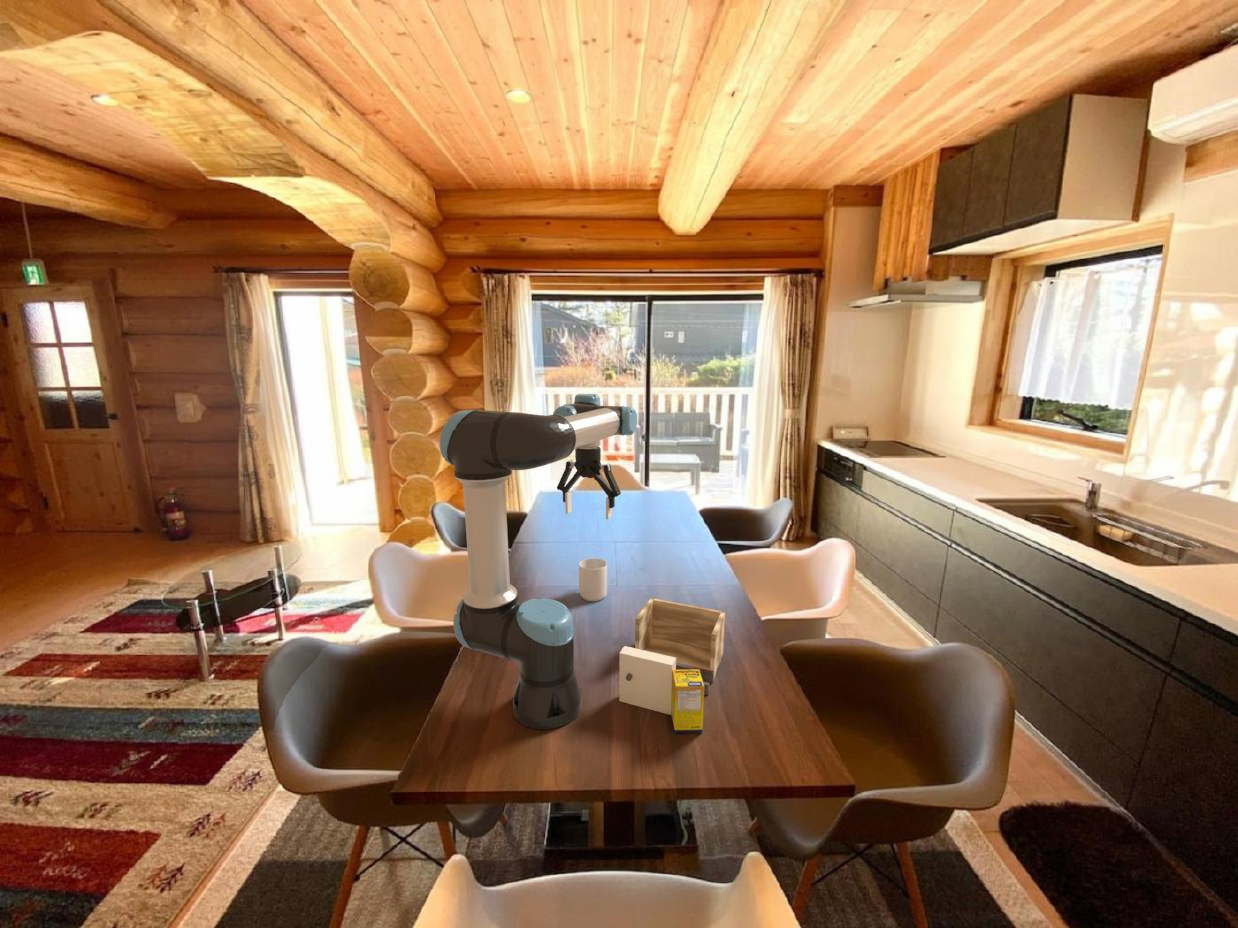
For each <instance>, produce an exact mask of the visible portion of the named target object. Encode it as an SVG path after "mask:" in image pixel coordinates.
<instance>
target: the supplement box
mask: <svg viewBox="0 0 1238 928" xmlns="http://www.w3.org/2000/svg"><path fill="white" fill-rule="evenodd" d="M703 682H704V681H703V680H702V677H701V673H700V670H699V669H689V670H672V701H671V715H670V716H671V721H672V725H673V726H672V727H673V730H674V731H673V732H674V734H683V733H684V734H685V733H686V734H689V733H703V731H704V730H703V729H704V728H703V727H704V704H705V703H704V701H705V694H704V684H703Z"/></svg>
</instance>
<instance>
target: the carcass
mask: <svg viewBox="0 0 1238 928" xmlns="http://www.w3.org/2000/svg"><path fill="white" fill-rule="evenodd" d="M726 612H727V611H723V610H719V609H714V608H713V609H712V608H708V607H702V606H699V605H698V606H696V605H692V604H687V603H681V602H676V601H671V600H664V599H661V598H655V597H650V598H649V600H648V601H647V602H646V604H645V605H644V607H643V608H642V609H641V610H640V612H639V613H638V614H637V616H636V617H635V626H634V627H635V630H634V631H635V635H634V636H635V637H634V638H635V639H634V640H635V642H634V648H636V649H640V650H645V651H649V652H653V653H658V654H662V655H667V656H671V657H675V658H676V670H689V669H699V670H700V673H701V677H702V680H703V684H704V696H709V694H710V685H711V684H713V683H714V681H715V679H716V677H717V672H718V670H719V668H720V665H721V662H722V659H723V656H724V654H725V653H724V652H725V651H724V649H725V648H724V647H725V633H726V631H725V630H726V615H727V614H726Z"/></svg>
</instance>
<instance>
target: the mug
mask: <svg viewBox="0 0 1238 928" xmlns="http://www.w3.org/2000/svg"><path fill="white" fill-rule="evenodd" d="M578 585H579V586H578V589H579V596H580V597H581V598H582V599H583V600H585V601H588V602H598V601H602V600H603V599H605V597H606V596H607V594H608V562H607V561H606V560H604V559H602V558H596V557H595V558H594V557H593V558H586V559H583V560H581V561H580V562H578Z"/></svg>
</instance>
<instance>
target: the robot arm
mask: <svg viewBox="0 0 1238 928" xmlns="http://www.w3.org/2000/svg"><path fill="white" fill-rule="evenodd" d="M637 425H638V413H637V411H636V409H635V408H634V407H632V406H625V405H622V406H621V405H620V406H618V405H615V406H614V405H601V397H600V395H599V394H596V393H578V394H576V395H575V396H574V402H573V403H569V404H567V403H566V404H563V405H561V406H559V407H556V409H555V410H554V412H553V413H552V414H550V415H549V414H548V415H546V414H545V415H544V414H543V415H542V414H536V413H535V414H534V413H527V412H526V413H525V412H524V413H523V412H519V411H518V412H514V411H511V412H510V411H498V410H497V411H496V410H484V409H464V410H460V411H457V412H455V413H453V414H452V415H451V416H450V417H449V418H448V419H447V421H446V423H445V424H444V425H443V428H442V429H441V432H440V437H439V451H440V455H441V457H442V458H444V460H445V462H446V463H448V464H449V465H451V466H453V471H454V472H453V473H454V479H456V480H457V481H458V482H459V483H461V484H462V490H463V502H464V503H463V504H464V505H463V506H464V507H463V508H464V517H465V518H464V519H465V520H464V521H465V534H466V535H465V536H466V551H467V561H468V562H467V564H468V577H469V579H468V581H469V588H468V590H467V591H466V592H465V593H464V595H463V598H462V599H461V601H460V602H459V603H458V604H457V607H456V608H455V610H456V613H455V614H454V615H453V623H452V624H453V632H454V635H455V637H456V640H457V641H458V643H460V644H461V645H462V646H463V647H464V648H468V649H470V650H472V651H475V652H477V653H485V654H489V655H491V656H496V657H499V658H503V659H506V660H507V659H508V660H511V661H514V662H518V665H519V667H518V668H519V678H518V681H517V685H516V687H515V691H514V694H513V698H512V712H513V715H514V717H515V718H516V720H517V722H519V723H520V724H521V725H523V726H525V727H528V728H531V729H535V730H551V729H556V728H560V727H562V726H565V725H567V724H569V723H570V722H572V721H574V720H575V719H576V718H577V717H578V715H579V714H580V712H581V711H582V707H583V693H582V689H581V687H580V684H579V681H578V678H577V676H576V674H575V667H574V664H575V661H574V655H575V653H574V636H575V635H574V634H575V629H574V622H573V616H572V613H571V612H570V609H569V608H568V607H567V606H566V605H565V604H563V603H562V602H561V601H558V600H555V599H551V598H545V597H544V598H543V597H541V598H540V599H538V598H537V597H536V598H531V599H529V600H525V601H524V602H522V603H520V602H518V601H519V600H518V598H519V597H518V590H517V588H516V587H515V586H514V585H512V584H511V580H510V579H511V578H510V560H509V558H510V557H509V539H508V537H509V536H508V519H507V515H508V514H507V502H506V501H507V499H506V497H507V496H506V482H507V480H508V479H509V478H510V477H511V476H512V474H513V471H526V470H531V469H535V468H536V469H537V468H540V467H543V466H547V465H551V464H553V463H556V462H558V461H562V460H564V459H566V458H568V457H569V456H571V454H572V453H573V452H574V457H575V461H574V460H573V459H570V460H567V461H566V462H565V469H564V471H563V473H562V475H561V477H560V479H559V482H558V484H557V486H556V489H557V490H558V491H561V492H562V502H563V503H565V514H567V515H568V514H570V513H572V511H573V507H572V505H573V503H572V502H573V501H572V500H573V499H572V493H573V492H572V491H571V488H572V487H573V486H574V485H575V484H576V483H577V481H578V480H579V479H580V478H588V479H594V481H596V482H597V483H598V485H599V486H600V488H601V489H602V490H603V492H604V493H605V494H606V495H607V497H606V498H605V520H610V519H611V518H612V517H613V509H614V507H615V506H616V505H615V503H616V500H615V498H617V497H619V496H620V495H621V494H622V492H621V490H620V488H619V486H618V483H617V481H616V479H615V476H614V474H613V472H612V466H611V464H610V463H607V464H602V463H601V456H602V455H601V452H602V451H601V447H600V446H601V441H602V440H604V439H609V438H611V437H614V436H618V435H619V436H622V437H623V436H632V435H634V433H635V432H636V430H637V427H638V426H637ZM573 468H575V470H576V472H575V473H574V474H573V476H572V477H571V478H570V480H569V481H568V479H569V477H570V476H571V473H572V471H573ZM601 470H602V471H601ZM602 472H603V473H604V476H605V478H604V476H603V474H602ZM606 480H607V481H606ZM567 481H568V482H567Z"/></svg>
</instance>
